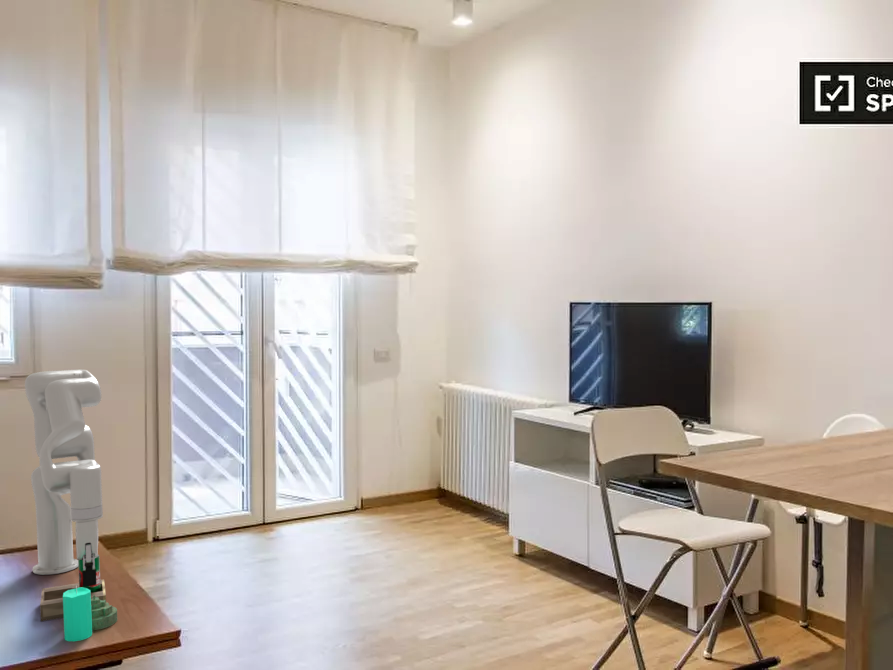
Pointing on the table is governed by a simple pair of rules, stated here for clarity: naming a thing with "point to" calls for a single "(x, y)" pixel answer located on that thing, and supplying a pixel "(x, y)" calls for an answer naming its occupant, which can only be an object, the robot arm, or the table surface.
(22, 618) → the table surface
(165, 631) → the table surface
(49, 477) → the robot arm
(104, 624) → the decorative artifact
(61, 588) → the open cardboard box
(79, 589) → the candle
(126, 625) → the table surface
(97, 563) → the soda can
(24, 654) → the table surface
